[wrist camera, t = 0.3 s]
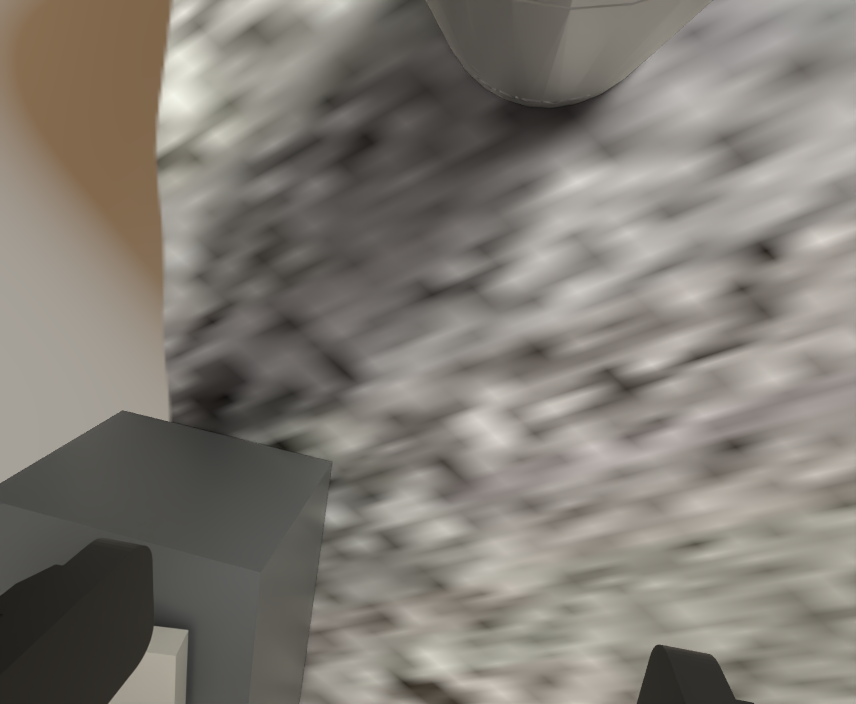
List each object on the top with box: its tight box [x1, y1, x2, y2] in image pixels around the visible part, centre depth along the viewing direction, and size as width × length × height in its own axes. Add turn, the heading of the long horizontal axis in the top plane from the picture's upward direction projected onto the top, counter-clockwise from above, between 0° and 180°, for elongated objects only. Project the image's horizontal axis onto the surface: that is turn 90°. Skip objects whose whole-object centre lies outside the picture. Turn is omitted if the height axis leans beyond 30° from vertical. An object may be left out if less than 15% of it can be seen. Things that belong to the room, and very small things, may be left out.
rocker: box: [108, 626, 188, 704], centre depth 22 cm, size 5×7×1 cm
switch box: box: [0, 411, 332, 704], centre depth 30 cm, size 27×12×8 cm, turn 170°
